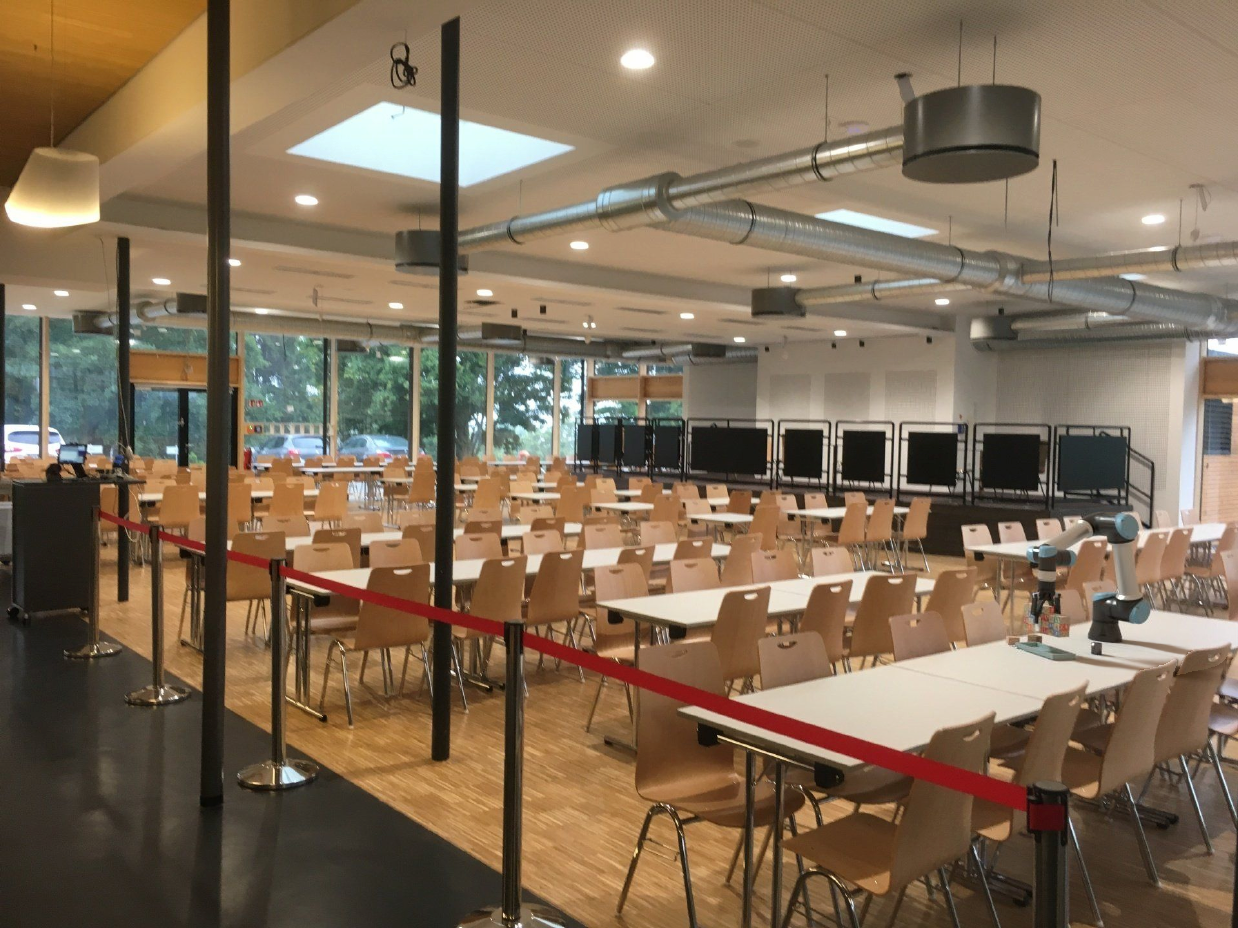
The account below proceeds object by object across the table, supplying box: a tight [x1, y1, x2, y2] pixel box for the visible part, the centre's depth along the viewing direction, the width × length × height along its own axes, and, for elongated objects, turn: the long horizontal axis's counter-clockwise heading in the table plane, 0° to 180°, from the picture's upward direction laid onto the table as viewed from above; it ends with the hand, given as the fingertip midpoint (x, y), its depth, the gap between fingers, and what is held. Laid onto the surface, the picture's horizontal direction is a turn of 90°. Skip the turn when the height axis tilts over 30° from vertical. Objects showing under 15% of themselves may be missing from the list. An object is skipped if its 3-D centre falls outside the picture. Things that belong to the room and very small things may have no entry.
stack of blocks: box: [1022, 602, 1071, 638], centre depth 443 cm, size 21×6×12 cm, turn 21°
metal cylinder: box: [1090, 641, 1103, 656], centre depth 445 cm, size 4×4×5 cm
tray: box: [1014, 641, 1077, 661], centre depth 444 cm, size 12×27×2 cm, turn 13°
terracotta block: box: [1005, 635, 1021, 646], centre depth 462 cm, size 5×4×4 cm
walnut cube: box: [1026, 634, 1043, 644], centre depth 463 cm, size 4×4×4 cm
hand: (1045, 630), depth 443 cm, fingers closed on stack of blocks, 7 cm apart
